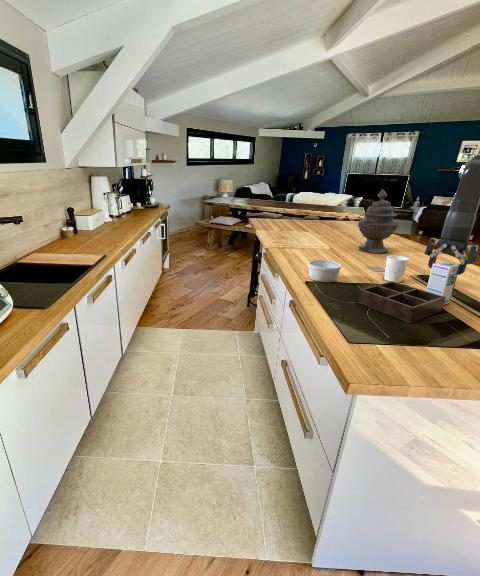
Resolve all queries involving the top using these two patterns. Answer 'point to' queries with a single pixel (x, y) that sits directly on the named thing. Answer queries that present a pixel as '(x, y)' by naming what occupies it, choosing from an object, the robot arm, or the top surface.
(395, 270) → the white cup
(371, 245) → the decorative urn
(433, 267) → the syrup box
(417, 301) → the rack
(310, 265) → the ramekin
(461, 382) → the top surface
